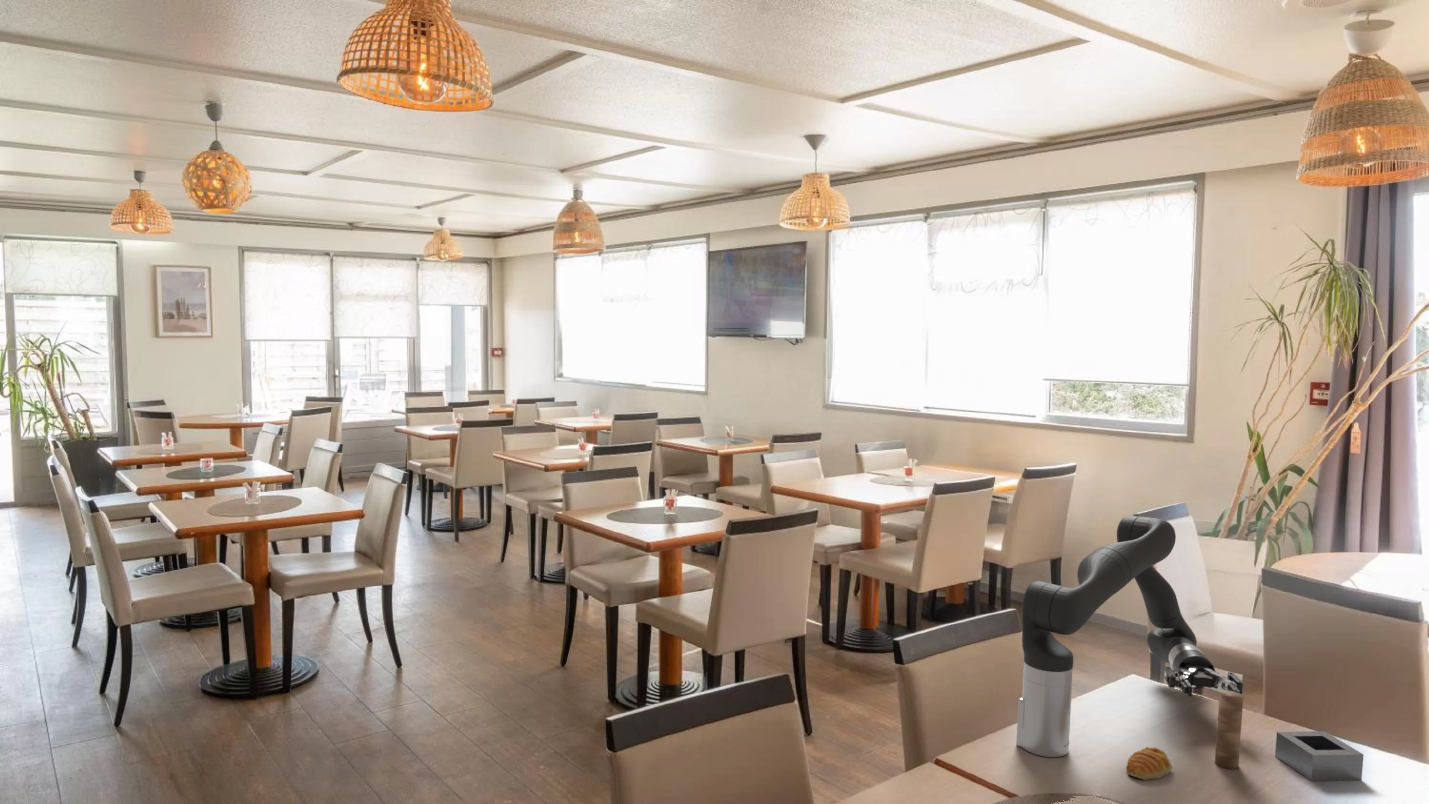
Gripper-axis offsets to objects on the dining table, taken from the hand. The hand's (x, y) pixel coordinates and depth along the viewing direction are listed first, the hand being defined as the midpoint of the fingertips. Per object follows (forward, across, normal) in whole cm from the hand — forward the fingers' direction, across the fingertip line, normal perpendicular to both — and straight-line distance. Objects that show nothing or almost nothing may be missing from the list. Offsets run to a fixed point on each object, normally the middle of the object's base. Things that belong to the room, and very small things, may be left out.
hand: (1212, 693), depth 189 cm
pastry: (+18, -16, +10) cm, 26 cm away
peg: (+12, 0, +10) cm, 15 cm away
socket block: (+8, +17, +10) cm, 21 cm away
